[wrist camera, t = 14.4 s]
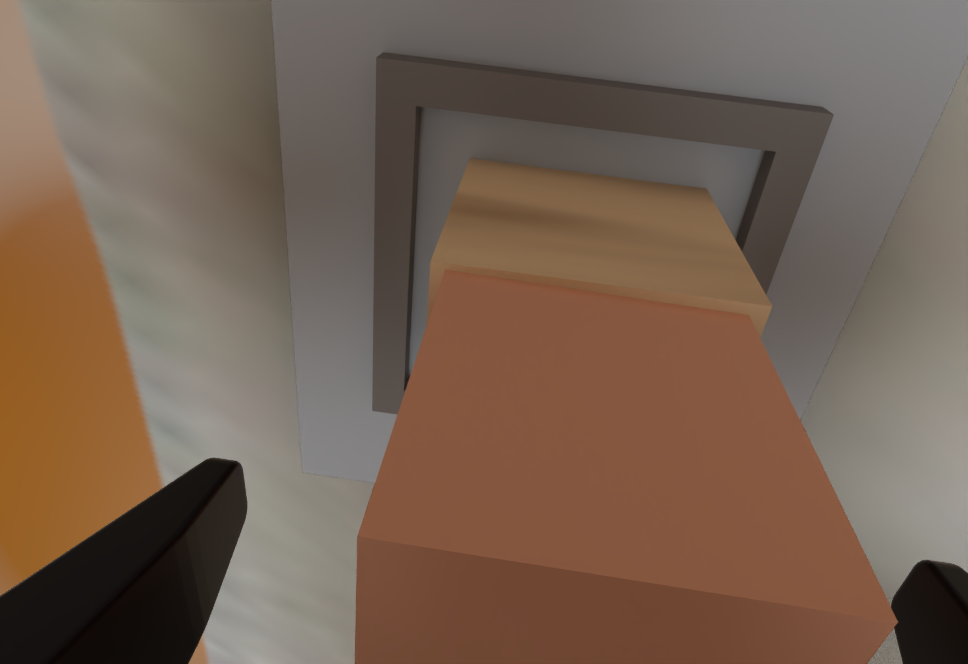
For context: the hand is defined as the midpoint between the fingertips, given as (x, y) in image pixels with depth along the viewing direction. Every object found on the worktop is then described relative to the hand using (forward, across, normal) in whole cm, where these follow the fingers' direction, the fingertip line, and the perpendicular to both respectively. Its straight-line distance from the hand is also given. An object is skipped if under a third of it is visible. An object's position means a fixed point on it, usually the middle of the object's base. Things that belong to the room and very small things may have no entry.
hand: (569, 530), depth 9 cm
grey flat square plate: (+8, 0, 0) cm, 8 cm away
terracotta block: (+2, 0, 0) cm, 3 cm away
